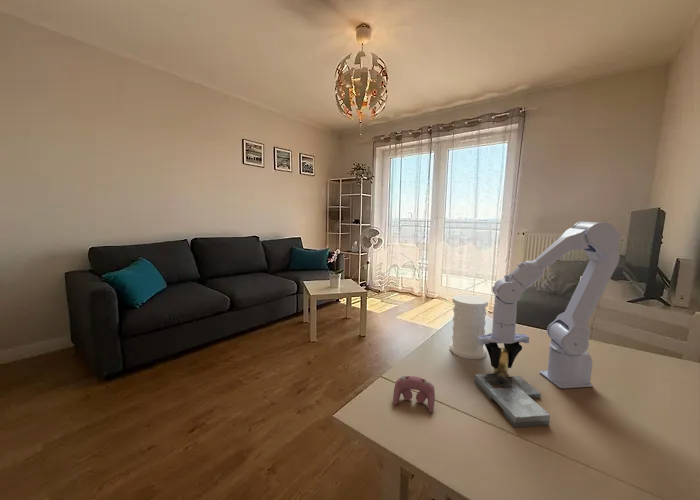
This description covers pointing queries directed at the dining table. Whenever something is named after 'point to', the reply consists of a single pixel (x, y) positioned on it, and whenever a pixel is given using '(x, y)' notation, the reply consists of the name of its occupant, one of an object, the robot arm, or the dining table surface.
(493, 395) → the upper link
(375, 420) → the dining table surface
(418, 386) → the video game controller
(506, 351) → the pin
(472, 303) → the decorative container
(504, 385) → the lower link
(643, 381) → the dining table surface
